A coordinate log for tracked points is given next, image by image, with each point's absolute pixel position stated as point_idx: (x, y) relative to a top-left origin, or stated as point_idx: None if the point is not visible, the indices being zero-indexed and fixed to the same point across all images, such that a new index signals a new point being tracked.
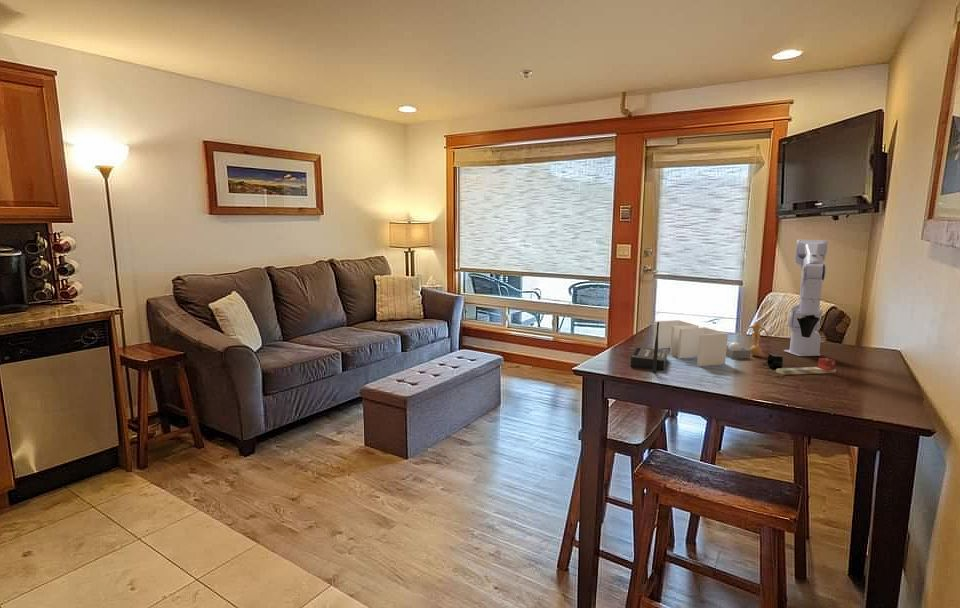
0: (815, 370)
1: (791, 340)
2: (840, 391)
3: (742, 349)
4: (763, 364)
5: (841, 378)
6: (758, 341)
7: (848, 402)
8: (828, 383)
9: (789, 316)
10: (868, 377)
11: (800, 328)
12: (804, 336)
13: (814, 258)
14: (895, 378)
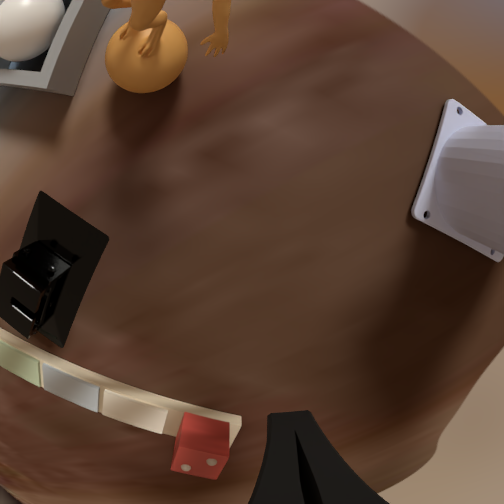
0: (128, 421)
1: (494, 142)
2: (57, 474)
3: (62, 32)
4: (27, 228)
5: (170, 464)
6: (156, 24)
7: (25, 481)
8: (78, 455)
9: None
10: None
11: (259, 477)
12: (267, 435)
13: None
14: None
